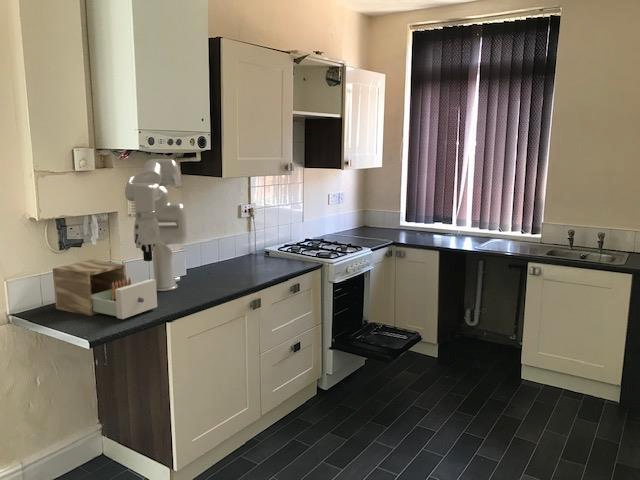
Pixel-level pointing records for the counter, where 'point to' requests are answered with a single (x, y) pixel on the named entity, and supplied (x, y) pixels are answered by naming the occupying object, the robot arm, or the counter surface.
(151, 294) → the drawer
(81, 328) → the counter surface
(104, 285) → the cabinet
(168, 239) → the robot arm
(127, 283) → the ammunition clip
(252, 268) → the counter surface
